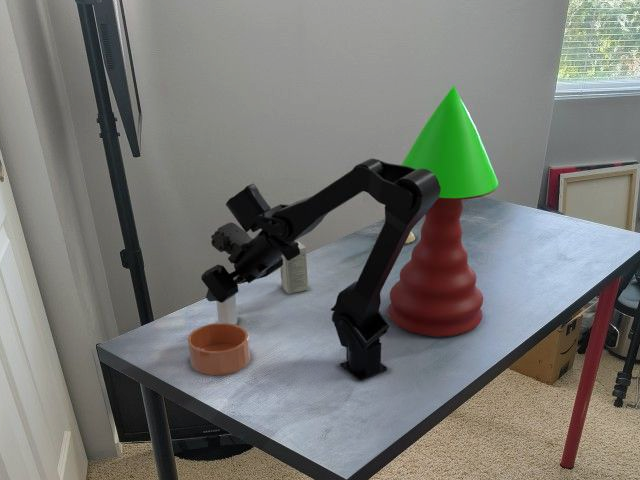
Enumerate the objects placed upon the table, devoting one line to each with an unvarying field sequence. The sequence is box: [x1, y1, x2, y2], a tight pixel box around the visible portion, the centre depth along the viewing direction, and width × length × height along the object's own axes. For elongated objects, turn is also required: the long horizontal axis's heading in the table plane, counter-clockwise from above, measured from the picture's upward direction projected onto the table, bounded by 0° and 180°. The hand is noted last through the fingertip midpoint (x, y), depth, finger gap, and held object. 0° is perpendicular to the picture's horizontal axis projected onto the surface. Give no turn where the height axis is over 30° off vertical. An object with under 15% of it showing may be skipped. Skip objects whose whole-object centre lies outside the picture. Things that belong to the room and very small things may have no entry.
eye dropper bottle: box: [215, 294, 239, 325], centre depth 145 cm, size 4×6×12 cm
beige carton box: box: [279, 240, 309, 295], centre depth 160 cm, size 5×4×10 cm
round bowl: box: [187, 322, 251, 376], centre depth 136 cm, size 11×11×5 cm
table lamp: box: [387, 85, 499, 338], centre depth 140 cm, size 20×20×45 cm
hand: (222, 290), depth 145 cm, fingers open, 9 cm apart
